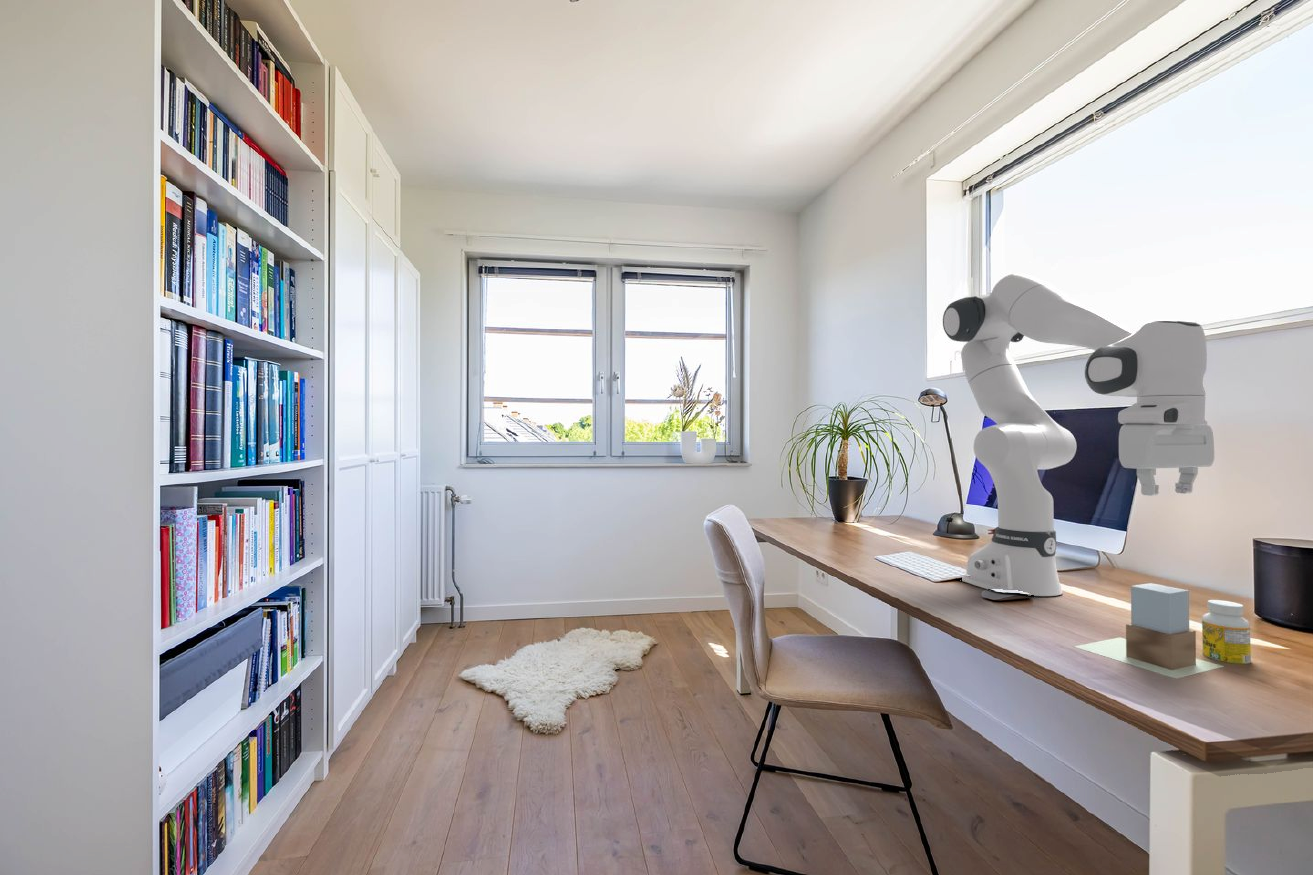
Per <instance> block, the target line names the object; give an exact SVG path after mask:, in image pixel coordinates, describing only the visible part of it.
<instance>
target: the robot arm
mask: <svg viewBox="0 0 1313 875" xmlns="http://www.w3.org/2000/svg"><path fill="white" fill-rule="evenodd" d="M942 327H943V330H944V333H945V334H946V335H947V337H948V339H949V340H952V341H954V342H963V343H965V344H964V345H963V347H962V348H961V353H960V357H961V363H962V366H963V367H962V368H963V370H964V374H965V378H966V380H967V382H968V384H969V387H970V389H971V391H972V395H973V397H974V399H975V401H976V404H977V406H978V409H979V410H980V411H981V413H982V414H983V415H984V416H985V417H987V418H989V419H991V421H993V422H994V423H996V424H994V425H990V426H987V427H984V428H982V429H980V430H979V432H977V434H976V436H975V438H974V440H973V453H974V456H975V457H976V459H977V460H978V462H979V463H980V464H981V465H982V466H984V467H985V469H986V470H987V471H988V473H989V475H990V477H991V480H992V482H993V485H994V488H995V491H996V492H995V493H996V496H997V518H998V519H997V522H998V523H997V524H998V525H997V527H995V528H994V529H993V528H991V529H987V531H988V533H987V534H988V535H992V537H991V540H990V542H989V543H986V545H984V546H982V547H980V548H979V549H977V550H976V551H973V552H972V553H971V554H970V555H969V557H968V559H967V562H966V568H965V569H966V571H965V572H966V574H968V575H970V577H962V582H965V583H967V584H969V585H973V586H977V587H980V588H982V589H984V590H985V589H986V590H988V589H1003V590H1018V591H1023V592H1028V593H1030V594H1032V595H1034V596H1033V597H1054V596H1055V597H1056V596H1059V595H1062V594H1063V593H1064V592H1063V589H1062V586H1061V584H1060V580H1059V579H1060V578H1059V574H1058V570H1057V564H1056V562H1057V561H1056V550H1057V532H1056V531H1055V530H1054V521H1055V520H1054V513H1055V512H1054V511H1055V510H1054V498H1053V496H1052V494H1051V492H1049V491H1048V490H1047V489H1046V488H1045V487H1044V486H1043V484H1042V482H1041V478H1040V475H1039V472H1038V471H1039V470H1050V469H1051V470H1052V469H1054V468H1058V467H1061V466H1064V465H1066V464H1068V463H1069V462H1071V460H1073V458H1074V457H1075V455H1076V452H1077V446H1078V445H1077V441H1076V440H1077V439H1076V438H1075V437H1074V435H1073V433H1071V431H1070V430H1069V429H1066V428H1065V427H1063V426H1062V425H1060V424H1059V423H1057V422H1056V421H1055V420H1054V419H1053V418H1052V417H1051V416H1050V415H1049V414H1048V413H1047V412H1046V410H1045V409H1044V408H1043V407H1042V406H1041V405H1040V404H1039V403H1038V402H1037V400H1036V399H1035V398H1034V396H1033V395H1032V393H1031V392H1030V390H1029V388H1028V386H1027V384H1026V383H1025V381H1024V378H1023V376H1022V374H1021V373H1020V370H1019V369H1018V366H1017V365H1016V362H1015V360H1014V359H1013V357H1012V355H1011V353H1010V352H1011V351H1010V342H1011V343H1019V342H1021V341H1022V340H1023V339H1024V337H1026V338H1029V339H1031V340H1033V341H1036V342H1039V343H1045V344H1055V345H1056V344H1057V345H1066V346H1074V347H1081V348H1087V349H1089V350H1093V351H1094V352H1092V353H1091V355H1090V356H1089V358H1088V359H1087V361H1086V363H1085V366H1084V378H1085V379H1084V380H1085V381H1086V384H1087V386H1088V387H1089V388H1090V389H1091V390H1092V391H1093V392H1094V393H1096V394H1098V395H1104V396H1108V397H1124V398H1125V397H1128V398H1129V397H1130V398H1136V402H1135V403H1133V404H1132V405H1130V406H1129V407H1126V408H1124V409H1122V410H1120V411H1118V413H1117V414H1118V415H1117V416H1118V417H1117V421H1118V424H1122V426H1120V429H1119V432H1118V459H1119V462H1120V465H1121V466H1122V467H1123V468H1126V469H1135V470H1136V476H1137V479H1138V481H1139V484H1140V485H1141V486H1140V487H1141V488H1140V494H1141V495H1143V496H1148V497H1149V496H1150V497H1153V496H1157V495H1159V488H1160V486H1159V484H1157V483H1156V480H1155V476H1156V475H1157V469H1178V473H1179V474H1180V475H1179V478H1178V481H1177V482H1175V484H1174V485H1175V486H1174V487H1175V488H1174V491H1175V493H1177V494H1192V493H1193V485H1194V483H1195V480H1196V478H1197V476H1198V474H1199V468H1209V467H1212V465H1213V463H1214V461H1215V441H1214V432H1213V429H1212V427H1211V425H1209V424H1208V421H1207V420H1205V415H1206V414H1205V412H1206V390H1205V387H1204V384H1203V382H1204V381H1203V380H1204V377H1205V373H1206V372H1207V362H1208V361H1207V360H1208V359H1207V356H1208V354H1207V353H1208V352H1207V339H1206V335H1205V331H1204V329H1203V327H1202V325H1201V324H1200V323H1198V322H1197V321H1193V320H1184V319H1183V320H1181V319H1153V320H1152V319H1151V320H1149V321H1146V322H1144V323H1143V324H1142V325H1141V326H1140V327H1139V329H1138V330H1136V331H1134V330H1132V329H1131V328H1128V327H1127V326H1125V325H1123V324H1121V323H1118V322H1116V321H1115V320H1112V319H1111V318H1109V317H1106V316H1104V315H1102V314H1101V313H1098V312H1097V311H1096V310H1094V309H1092V308H1090V307H1088V306H1086V305H1084V304H1083V303H1080V302H1079V301H1078V300H1076V299H1074V298H1072V297H1071V296H1070V295H1068V294H1066V293H1065V292H1063V291H1061V290H1059V289H1058V288H1056V287H1055V286H1053V285H1052V284H1050V283H1049V282H1046V281H1044V280H1042V279H1039V278H1038V277H1035V276H1032V275H1029V274H1025V273H1020V272H1019V273H1016V272H1015V273H1011V274H1008V275H1006V276H1004V277H1002V278H1001V279H999V280H998V281H997V283H995V285H994V287H993V288H992V290H991V292H990V293H989V292H988V293H986V294H981V295H975V296H967V297H963V298H959V299H956V300H955V301H953V302H951V303H949V304H948V305H947V307H946V309H945V310H944V312H943V315H942Z"/></svg>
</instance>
